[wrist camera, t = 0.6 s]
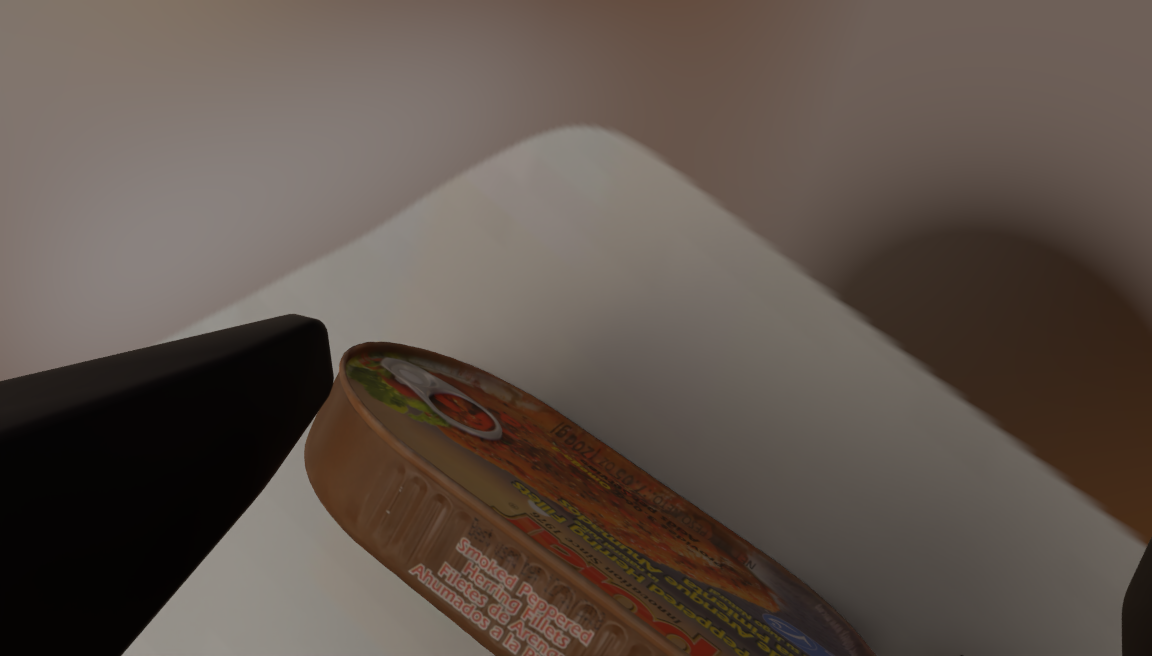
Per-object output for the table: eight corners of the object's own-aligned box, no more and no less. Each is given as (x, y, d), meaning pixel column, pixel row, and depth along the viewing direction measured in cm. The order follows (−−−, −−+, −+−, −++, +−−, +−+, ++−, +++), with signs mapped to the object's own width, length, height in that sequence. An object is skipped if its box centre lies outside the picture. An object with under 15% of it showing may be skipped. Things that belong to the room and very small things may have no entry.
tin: (907, 651, 22) (937, 800, 14) (839, 750, 22) (829, 953, 14) (455, 339, 26) (281, 315, 18) (404, 425, 27) (211, 440, 19)
